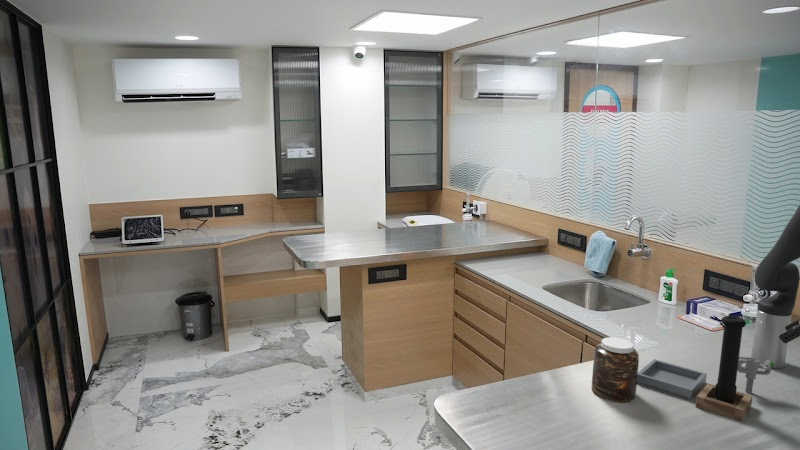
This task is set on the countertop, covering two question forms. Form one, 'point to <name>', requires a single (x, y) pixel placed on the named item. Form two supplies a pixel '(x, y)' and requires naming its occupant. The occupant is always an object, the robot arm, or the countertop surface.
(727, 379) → the tube
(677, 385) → the tray
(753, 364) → the mechanical component
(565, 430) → the countertop surface
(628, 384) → the jar
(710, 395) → the collar
